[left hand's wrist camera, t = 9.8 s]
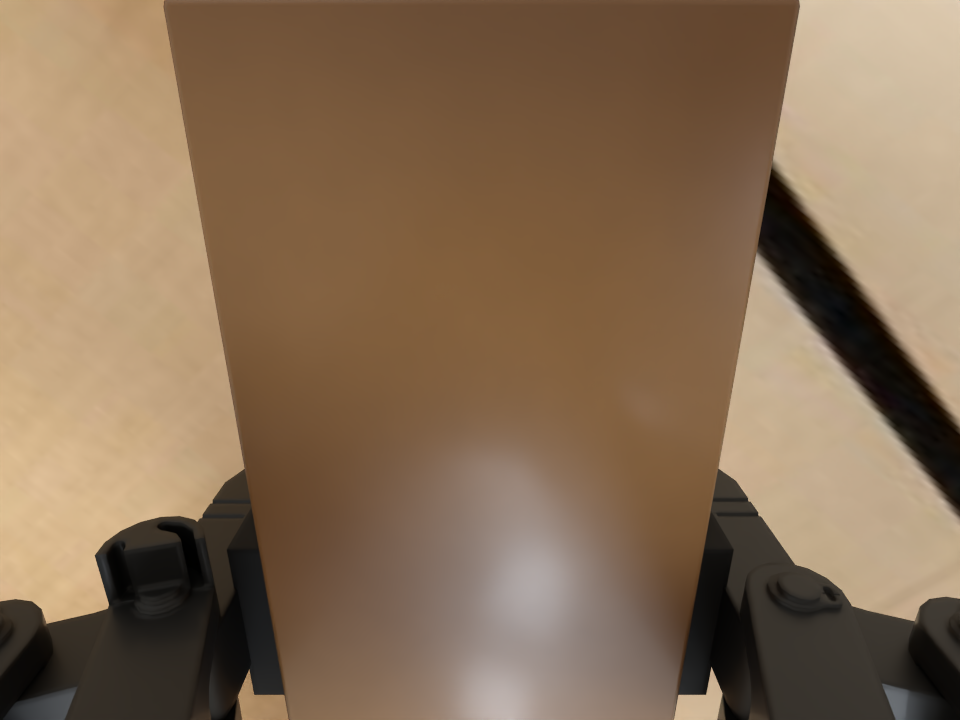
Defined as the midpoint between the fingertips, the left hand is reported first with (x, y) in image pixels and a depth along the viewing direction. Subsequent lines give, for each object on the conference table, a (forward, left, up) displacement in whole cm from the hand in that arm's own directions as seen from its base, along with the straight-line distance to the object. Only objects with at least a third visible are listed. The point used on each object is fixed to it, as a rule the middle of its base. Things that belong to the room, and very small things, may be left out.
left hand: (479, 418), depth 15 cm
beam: (+2, +22, -1) cm, 22 cm away
